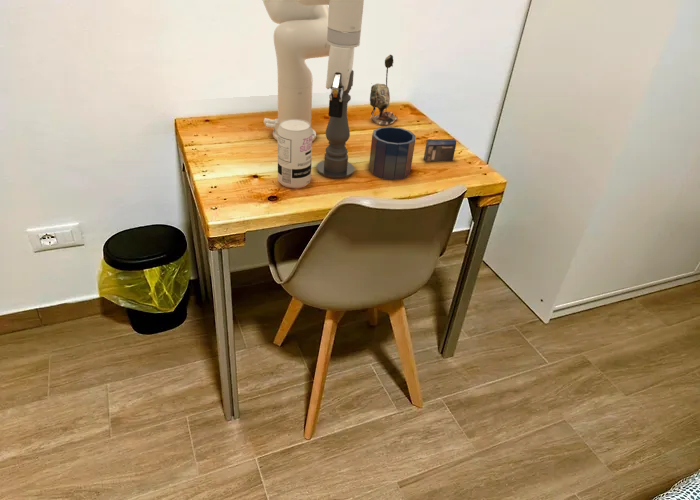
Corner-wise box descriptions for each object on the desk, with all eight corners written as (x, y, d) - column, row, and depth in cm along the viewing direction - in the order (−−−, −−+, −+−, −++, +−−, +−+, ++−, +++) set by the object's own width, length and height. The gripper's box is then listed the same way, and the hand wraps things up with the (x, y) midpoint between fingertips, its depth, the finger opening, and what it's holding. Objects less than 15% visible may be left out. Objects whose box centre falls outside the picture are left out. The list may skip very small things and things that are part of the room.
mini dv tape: (425, 162, 146) (428, 142, 143) (423, 159, 147) (426, 139, 144) (452, 161, 148) (456, 141, 144) (450, 158, 149) (454, 138, 146)
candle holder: (339, 175, 134) (345, 76, 120) (319, 167, 137) (323, 70, 122) (351, 166, 139) (359, 70, 124) (332, 159, 141) (337, 65, 127)
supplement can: (280, 172, 134) (279, 116, 126) (312, 175, 135) (314, 119, 126) (275, 188, 128) (274, 129, 119) (309, 190, 128) (311, 133, 119)
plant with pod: (360, 119, 168) (365, 54, 157) (388, 114, 174) (396, 51, 162) (374, 128, 163) (381, 62, 151) (403, 123, 168) (412, 59, 157)
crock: (366, 177, 136) (370, 141, 130) (371, 158, 145) (374, 124, 139) (409, 182, 135) (414, 146, 130) (410, 163, 144) (416, 129, 139)
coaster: (313, 176, 134) (313, 173, 134) (320, 159, 142) (320, 156, 142) (351, 181, 134) (352, 178, 133) (356, 164, 142) (356, 161, 141)
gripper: (333, 25, 126) (329, 95, 136) (320, 44, 112) (316, 120, 122) (364, 29, 125) (357, 98, 136) (355, 49, 111) (348, 125, 122)
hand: (338, 109), depth 129 cm, fingers open, 9 cm apart
